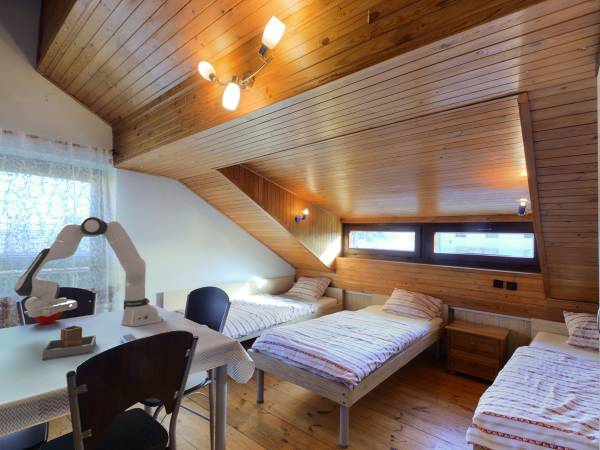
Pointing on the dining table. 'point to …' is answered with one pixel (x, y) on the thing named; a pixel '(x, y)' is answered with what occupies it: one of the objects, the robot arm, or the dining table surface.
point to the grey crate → (69, 348)
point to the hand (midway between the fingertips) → (61, 310)
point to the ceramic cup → (48, 318)
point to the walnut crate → (71, 336)
